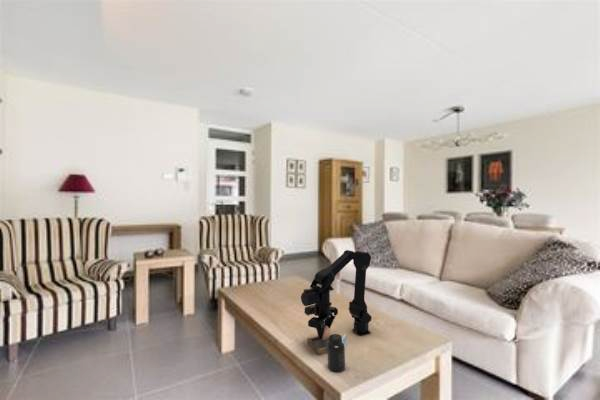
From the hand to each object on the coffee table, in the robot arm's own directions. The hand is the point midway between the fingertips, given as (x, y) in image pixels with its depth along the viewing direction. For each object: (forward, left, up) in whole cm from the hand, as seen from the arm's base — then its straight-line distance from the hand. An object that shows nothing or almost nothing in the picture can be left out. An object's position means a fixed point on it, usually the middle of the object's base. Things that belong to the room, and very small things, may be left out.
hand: (324, 335), depth 126 cm
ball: (0, 0, -2) cm, 2 cm away
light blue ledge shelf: (-4, +6, -5) cm, 9 cm away
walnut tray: (0, 0, -5) cm, 5 cm away
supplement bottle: (+3, +16, -5) cm, 17 cm away
